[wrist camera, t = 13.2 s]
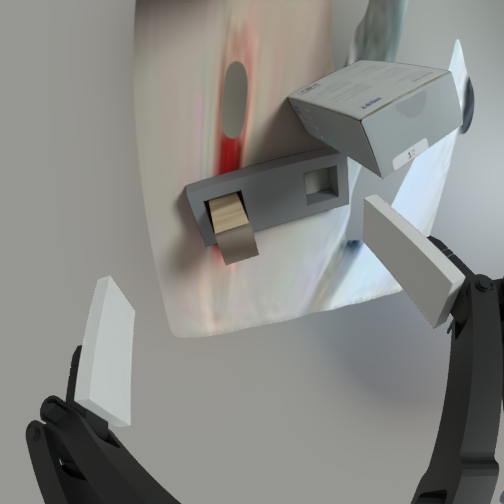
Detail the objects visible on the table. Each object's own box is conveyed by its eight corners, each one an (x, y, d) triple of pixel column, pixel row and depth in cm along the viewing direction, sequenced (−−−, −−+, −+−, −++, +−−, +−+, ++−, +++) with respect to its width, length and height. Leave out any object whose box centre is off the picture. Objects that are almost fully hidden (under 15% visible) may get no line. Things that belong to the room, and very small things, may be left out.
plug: (207, 194, 45) (215, 237, 35) (234, 186, 45) (251, 226, 35) (215, 218, 48) (225, 265, 38) (240, 209, 48) (259, 254, 38)
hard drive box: (308, 135, 42) (380, 182, 27) (285, 96, 38) (356, 119, 22) (377, 96, 40) (465, 125, 24) (361, 58, 35) (452, 68, 20)
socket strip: (186, 185, 43) (186, 194, 40) (336, 145, 44) (347, 151, 41) (204, 235, 49) (205, 247, 46) (340, 195, 51) (349, 204, 48)
